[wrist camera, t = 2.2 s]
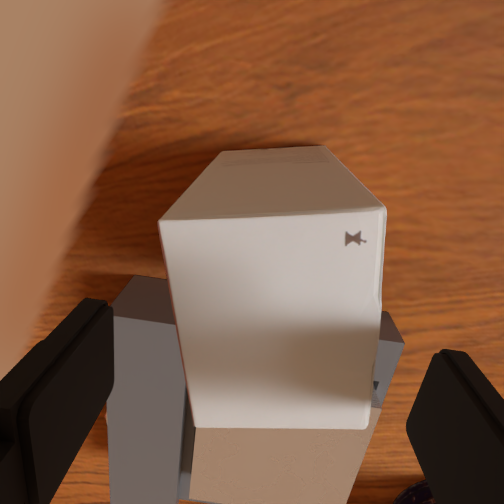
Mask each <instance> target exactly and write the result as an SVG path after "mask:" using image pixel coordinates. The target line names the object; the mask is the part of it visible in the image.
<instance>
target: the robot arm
mask: <svg viewBox="0 0 504 504" xmlns="http://www.w3.org/2000/svg"><path fill="white" fill-rule="evenodd" d="M113 386H114V311H113V307H111V306H108V303H107V301H105V300H98V299H91V298H85V299H83V300H82V301H81V302H80V303H79V304H78V305H77V306H76V307H75V308H74V309H73V311H72V312H71V313H70V314H69V315H68V316H67V317H66V318H65V319H64V320H63V321H62V322H61V323H60V324H59V325H58V326H57V327H56V328H55V329H54V330H53V331H52V332H51V333H50V334H49V335H48V336H47V337H46V338H45V339H44V340H42V341H40V342H39V343H37V344H36V345H35V346H34V347H33V348H32V349H31V350H30V351H29V352H28V353H27V354H26V355H25V356H24V357H23V358H22V359H21V360H20V361H19V362H18V363H17V364H16V365H15V366H14V367H13V369H12V370H11V371H10V372H9V373H8V374H7V375H6V376H5V377H4V378H3V379H2V380H1V381H0V504H50V502H51V500H52V498H53V496H54V495H55V493H56V491H57V489H58V487H59V486H60V484H61V482H62V480H63V478H64V477H65V475H66V473H67V471H68V469H69V468H70V466H71V464H72V462H73V460H74V459H75V457H76V455H77V453H78V451H79V450H80V448H81V446H82V444H83V442H84V441H85V439H86V437H87V435H88V433H89V432H90V430H91V428H92V426H93V424H94V423H95V421H96V419H97V417H98V415H99V414H100V412H101V410H102V408H103V406H104V405H105V403H106V401H107V399H108V397H109V396H110V394H111V392H112V389H113ZM406 431H407V435H408V437H409V440H410V442H411V445H412V447H413V449H414V452H415V454H416V457H417V459H418V461H419V464H420V466H421V469H422V471H423V473H424V476H425V478H426V481H427V483H428V485H429V488H430V490H431V492H432V495H433V497H434V500H435V502H436V504H504V399H503V398H502V397H501V396H500V394H499V393H498V392H497V390H496V389H495V388H494V387H493V385H492V384H491V383H490V382H489V380H488V379H487V378H486V377H485V375H484V374H483V373H482V372H481V370H480V369H479V368H478V367H477V365H476V364H475V363H474V362H473V360H472V359H471V358H470V357H469V355H468V354H467V353H466V352H463V351H456V350H449V349H442V350H441V351H440V352H439V353H435V354H434V355H433V357H432V360H431V362H430V365H429V367H428V370H427V372H426V375H425V377H424V380H423V382H422V384H421V387H420V389H419V392H418V394H417V397H416V399H415V402H414V404H413V407H412V409H411V412H410V414H409V417H408V419H407V422H406Z"/></svg>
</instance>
